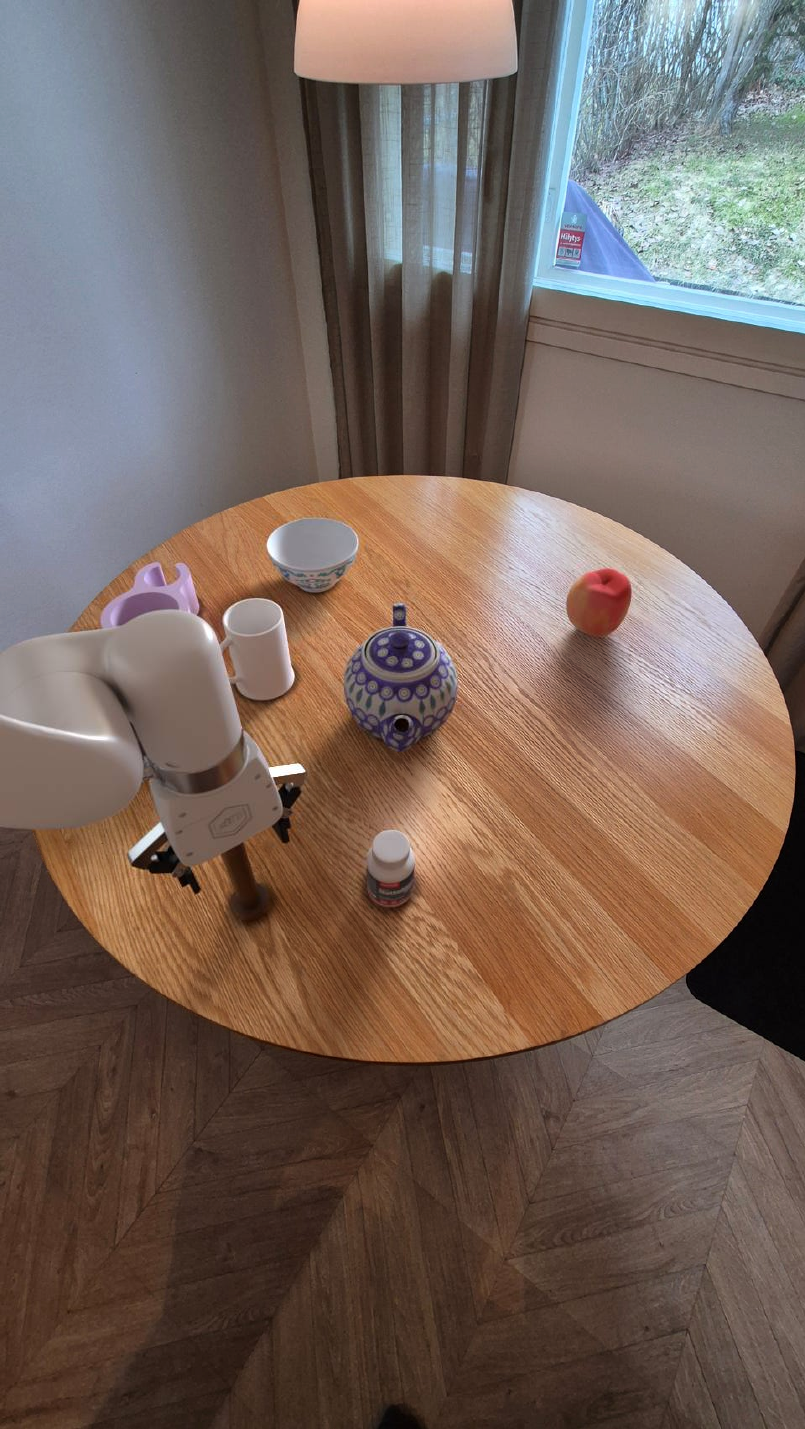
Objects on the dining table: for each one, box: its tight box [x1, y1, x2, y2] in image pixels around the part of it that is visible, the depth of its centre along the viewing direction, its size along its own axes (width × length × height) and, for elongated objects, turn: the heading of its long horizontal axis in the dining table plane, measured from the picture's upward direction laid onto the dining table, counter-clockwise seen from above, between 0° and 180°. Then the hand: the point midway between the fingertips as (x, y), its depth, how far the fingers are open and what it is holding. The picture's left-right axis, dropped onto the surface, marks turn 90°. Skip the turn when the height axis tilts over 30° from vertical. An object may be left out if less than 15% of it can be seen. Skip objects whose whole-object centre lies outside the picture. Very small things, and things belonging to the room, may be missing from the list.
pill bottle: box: [365, 829, 416, 908], centre depth 72 cm, size 5×5×9 cm
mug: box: [219, 597, 295, 701], centre depth 93 cm, size 12×8×12 cm
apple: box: [565, 567, 633, 638], centre depth 102 cm, size 10×10×10 cm
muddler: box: [220, 841, 271, 923], centre depth 69 cm, size 4×4×14 cm
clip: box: [100, 561, 200, 629], centre depth 101 cm, size 20×12×7 cm, turn 178°
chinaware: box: [265, 517, 359, 593], centre depth 111 cm, size 15×15×8 cm
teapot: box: [343, 602, 459, 753], centre depth 88 cm, size 25×15×15 cm, turn 178°
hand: (237, 856), depth 66 cm, fingers open, 9 cm apart
